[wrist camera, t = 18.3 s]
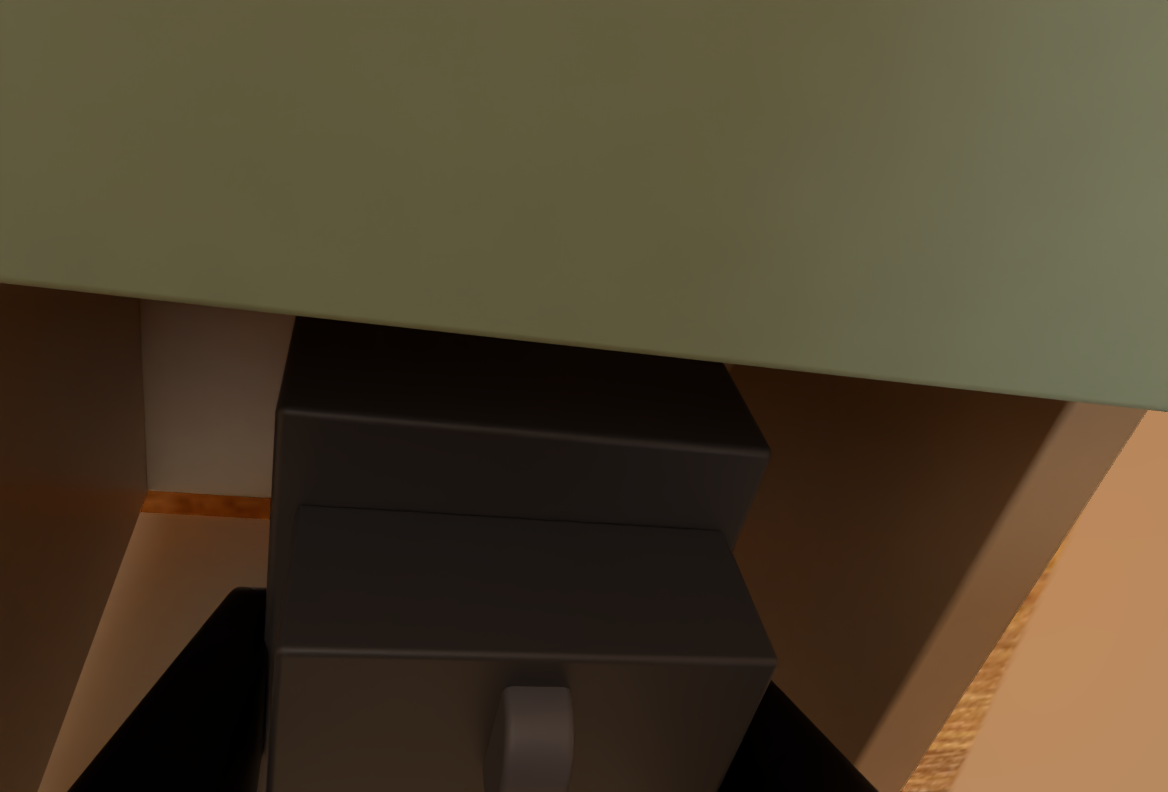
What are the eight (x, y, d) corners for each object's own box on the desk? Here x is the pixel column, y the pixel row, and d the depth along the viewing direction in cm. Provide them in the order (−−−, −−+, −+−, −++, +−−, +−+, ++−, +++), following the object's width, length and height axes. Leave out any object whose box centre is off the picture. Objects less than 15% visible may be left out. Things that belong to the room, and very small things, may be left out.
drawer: (639, 745, 21) (732, 1131, 15) (91, 747, 18) (-67, 1225, 12) (1002, -196, 11) (1671, -176, 5) (-37, -511, 8) (-1098, -1217, 2)
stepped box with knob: (711, 334, 9) (881, 640, 6) (576, 742, 13) (637, 1083, 9) (301, 284, 8) (228, 622, 5) (272, 741, 12) (217, 1126, 8)
